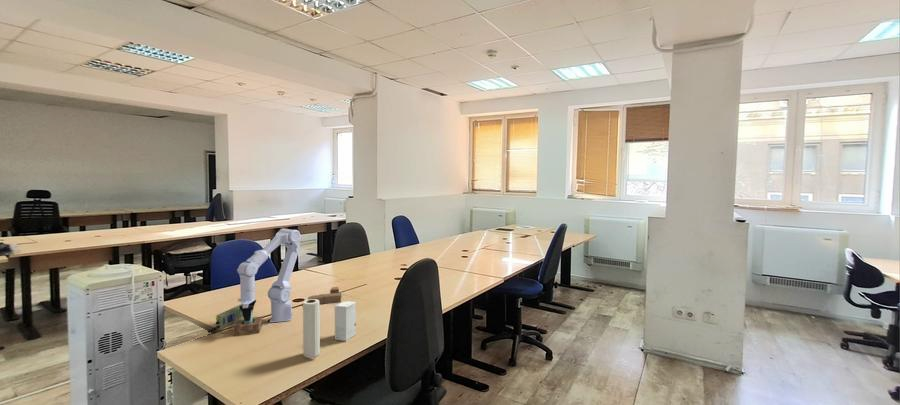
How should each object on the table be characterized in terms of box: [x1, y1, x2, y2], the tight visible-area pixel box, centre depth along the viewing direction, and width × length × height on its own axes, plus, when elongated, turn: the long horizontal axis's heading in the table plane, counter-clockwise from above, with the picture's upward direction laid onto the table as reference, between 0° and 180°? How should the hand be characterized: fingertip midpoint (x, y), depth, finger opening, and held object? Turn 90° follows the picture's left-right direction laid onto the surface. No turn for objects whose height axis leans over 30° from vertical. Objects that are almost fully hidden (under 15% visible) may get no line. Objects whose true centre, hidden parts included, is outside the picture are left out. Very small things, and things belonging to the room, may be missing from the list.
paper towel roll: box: [302, 299, 321, 360], centre depth 151 cm, size 7×6×21 cm
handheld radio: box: [207, 303, 244, 334], centre depth 183 cm, size 7×3×25 cm
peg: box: [244, 312, 253, 324], centre depth 175 cm, size 3×3×9 cm
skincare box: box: [334, 300, 357, 342], centre depth 169 cm, size 8×6×15 cm
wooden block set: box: [307, 286, 342, 305], centre depth 221 cm, size 17×6×18 cm
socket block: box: [233, 316, 263, 337], centre depth 175 cm, size 10×10×4 cm
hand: (248, 318), depth 175 cm, fingers open, 4 cm apart
